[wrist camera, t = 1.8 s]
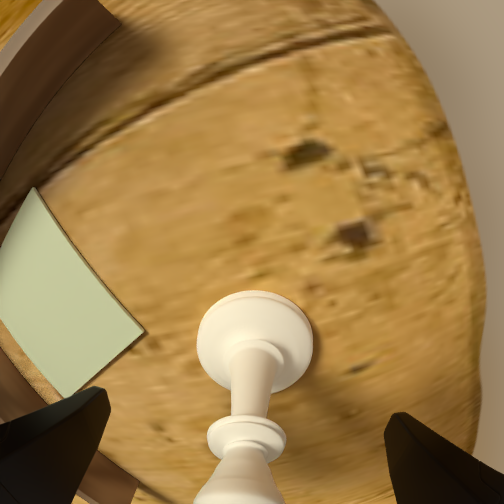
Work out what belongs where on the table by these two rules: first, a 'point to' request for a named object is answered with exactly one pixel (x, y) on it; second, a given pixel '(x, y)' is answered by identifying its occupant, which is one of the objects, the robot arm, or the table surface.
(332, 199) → the table surface
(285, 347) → the chess piece
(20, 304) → the pad
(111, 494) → the corner wall
